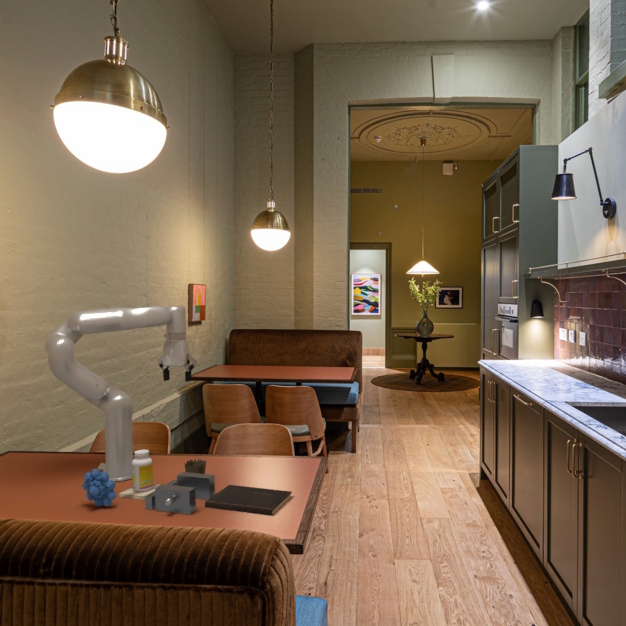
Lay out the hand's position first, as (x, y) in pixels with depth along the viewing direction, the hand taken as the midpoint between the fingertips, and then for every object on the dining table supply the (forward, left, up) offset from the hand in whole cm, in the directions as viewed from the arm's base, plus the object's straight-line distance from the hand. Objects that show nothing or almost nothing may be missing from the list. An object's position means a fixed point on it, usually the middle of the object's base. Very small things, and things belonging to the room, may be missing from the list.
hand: (177, 380), depth 209 cm
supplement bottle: (+5, -30, -32) cm, 44 cm away
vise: (+22, -35, -33) cm, 53 cm away
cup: (+18, -18, -34) cm, 42 cm away
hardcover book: (+43, -28, -34) cm, 62 cm away
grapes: (-1, -45, -34) cm, 56 cm away
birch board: (+5, -30, -33) cm, 45 cm away
